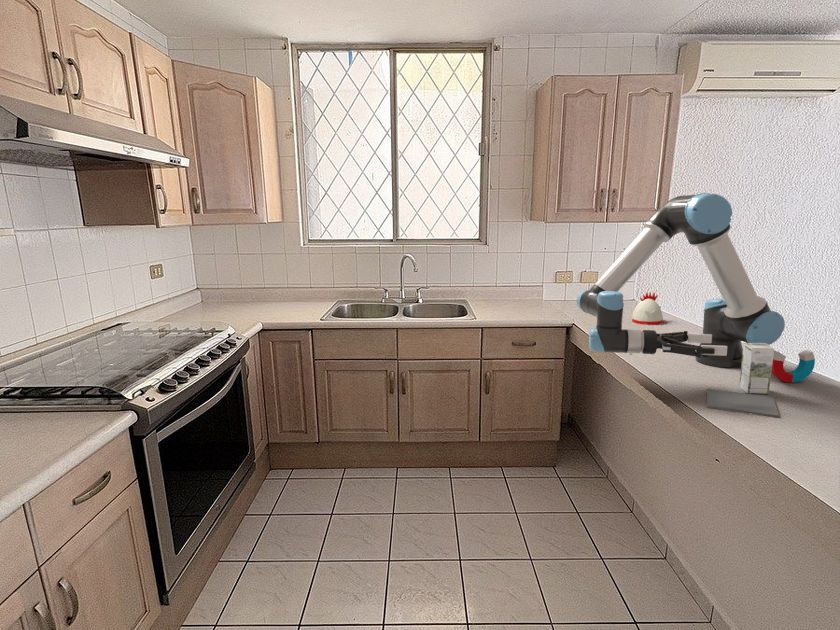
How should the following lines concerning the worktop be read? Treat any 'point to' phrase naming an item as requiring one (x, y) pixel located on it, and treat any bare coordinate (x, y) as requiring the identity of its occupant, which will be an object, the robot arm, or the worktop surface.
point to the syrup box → (756, 368)
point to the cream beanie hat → (648, 311)
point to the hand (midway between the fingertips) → (718, 344)
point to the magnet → (797, 374)
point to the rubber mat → (742, 402)
